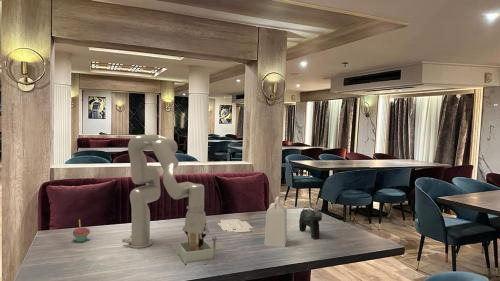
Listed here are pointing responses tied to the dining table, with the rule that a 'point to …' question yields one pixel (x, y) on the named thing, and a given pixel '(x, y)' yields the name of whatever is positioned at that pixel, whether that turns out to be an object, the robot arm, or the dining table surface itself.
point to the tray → (234, 225)
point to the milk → (276, 225)
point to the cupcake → (80, 233)
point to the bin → (194, 252)
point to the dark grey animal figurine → (310, 221)
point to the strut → (194, 242)
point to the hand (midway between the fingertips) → (195, 244)
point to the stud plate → (216, 244)
